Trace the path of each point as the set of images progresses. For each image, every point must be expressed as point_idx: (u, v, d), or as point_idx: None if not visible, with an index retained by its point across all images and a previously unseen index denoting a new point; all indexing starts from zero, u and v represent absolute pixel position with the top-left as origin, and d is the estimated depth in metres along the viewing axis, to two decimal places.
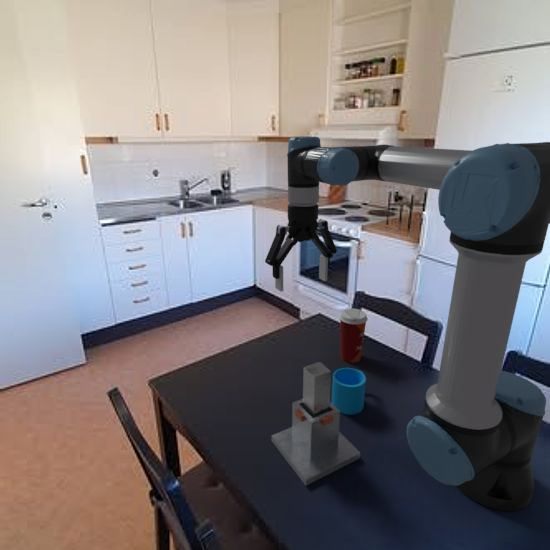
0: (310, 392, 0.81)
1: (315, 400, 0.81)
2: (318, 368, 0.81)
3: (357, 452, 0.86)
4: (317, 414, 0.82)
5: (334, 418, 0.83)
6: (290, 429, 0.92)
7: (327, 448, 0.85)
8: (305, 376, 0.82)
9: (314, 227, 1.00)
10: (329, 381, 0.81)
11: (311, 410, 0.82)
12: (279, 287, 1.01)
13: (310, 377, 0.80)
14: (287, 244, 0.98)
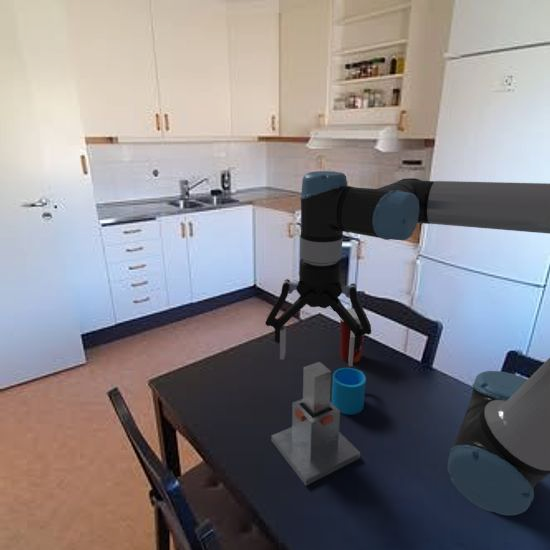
0: (310, 392, 0.81)
1: (315, 400, 0.81)
2: (318, 368, 0.81)
3: (357, 452, 0.86)
4: (317, 414, 0.82)
5: (334, 418, 0.83)
6: (290, 429, 0.92)
7: (327, 448, 0.85)
8: (305, 376, 0.82)
9: (333, 293, 0.74)
10: (329, 381, 0.81)
11: (311, 410, 0.82)
12: None
13: (310, 377, 0.80)
14: (293, 305, 0.77)
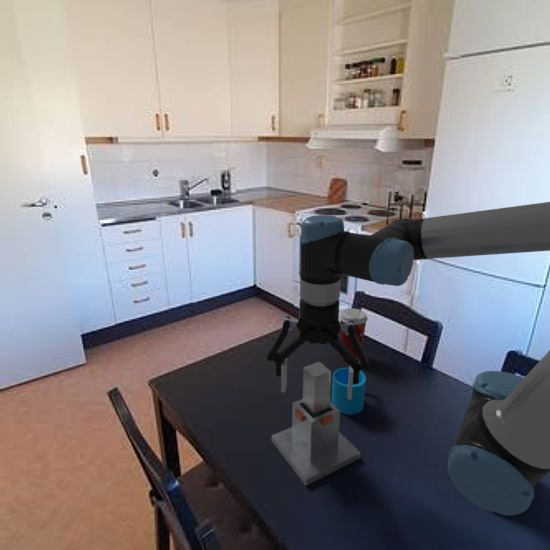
0: (310, 392, 0.81)
1: (315, 400, 0.81)
2: (318, 368, 0.81)
3: (357, 452, 0.86)
4: (317, 414, 0.82)
5: (334, 418, 0.83)
6: (290, 429, 0.92)
7: (327, 448, 0.85)
8: (305, 376, 0.82)
9: (332, 330, 0.76)
10: (329, 381, 0.81)
11: (311, 410, 0.82)
12: None
13: (310, 377, 0.80)
14: (294, 341, 0.79)
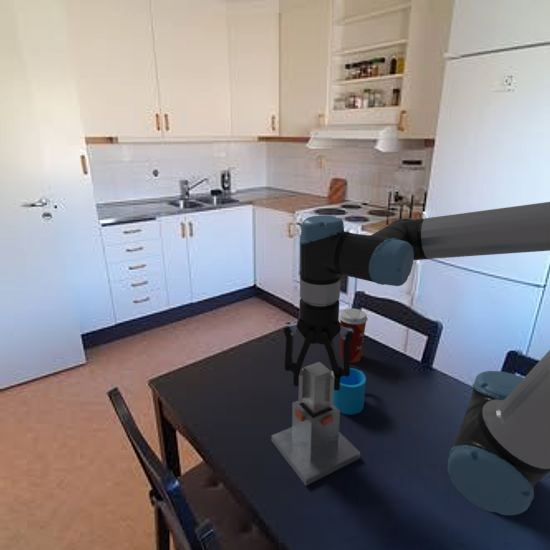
0: (310, 392, 0.81)
1: (315, 400, 0.81)
2: (318, 368, 0.81)
3: (357, 452, 0.86)
4: (317, 414, 0.82)
5: (334, 418, 0.83)
6: (290, 429, 0.92)
7: (327, 448, 0.85)
8: (305, 376, 0.82)
9: (332, 330, 0.76)
10: (329, 381, 0.81)
11: (311, 410, 0.82)
12: None
13: (310, 377, 0.80)
14: (301, 347, 0.79)
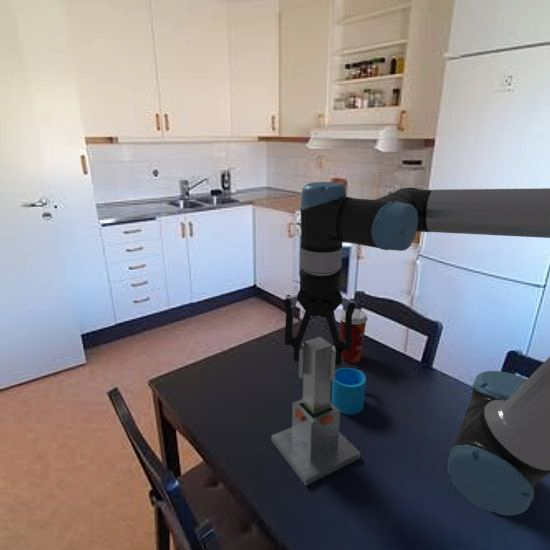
0: (311, 366, 0.79)
1: (316, 375, 0.79)
2: (319, 342, 0.79)
3: (357, 452, 0.86)
4: (318, 390, 0.80)
5: (334, 418, 0.83)
6: (290, 429, 0.92)
7: (327, 448, 0.85)
8: (306, 351, 0.80)
9: (333, 301, 0.74)
10: (330, 355, 0.79)
11: (311, 386, 0.80)
12: (299, 372, 0.81)
13: (311, 351, 0.78)
14: (302, 320, 0.77)
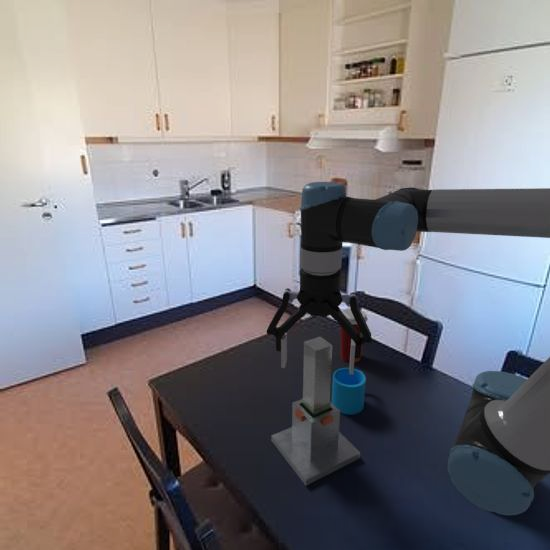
0: (311, 366, 0.79)
1: (316, 375, 0.79)
2: (319, 342, 0.79)
3: (357, 452, 0.86)
4: (318, 390, 0.80)
5: (334, 418, 0.83)
6: (290, 429, 0.92)
7: (327, 448, 0.85)
8: (306, 351, 0.80)
9: (334, 302, 0.74)
10: (330, 355, 0.79)
11: (311, 386, 0.80)
12: None
13: (311, 351, 0.78)
14: (294, 314, 0.77)
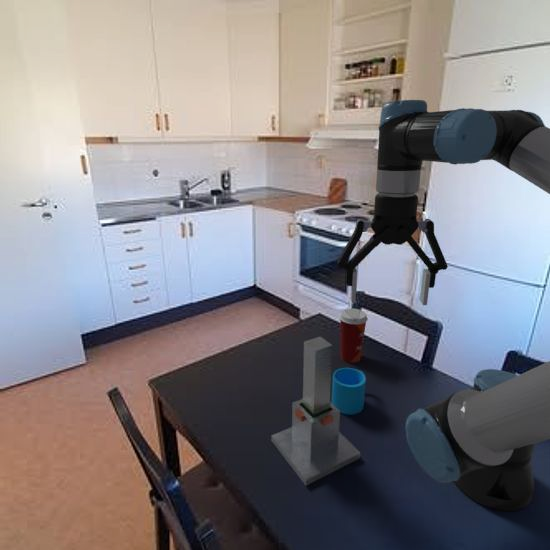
0: (311, 366, 0.79)
1: (316, 375, 0.79)
2: (319, 342, 0.79)
3: (357, 452, 0.86)
4: (318, 390, 0.80)
5: (334, 418, 0.83)
6: (290, 429, 0.92)
7: (327, 448, 0.85)
8: (306, 351, 0.80)
9: (410, 228, 0.73)
10: (330, 355, 0.79)
11: (311, 386, 0.80)
12: (351, 297, 0.79)
13: (311, 351, 0.78)
14: (367, 244, 0.76)
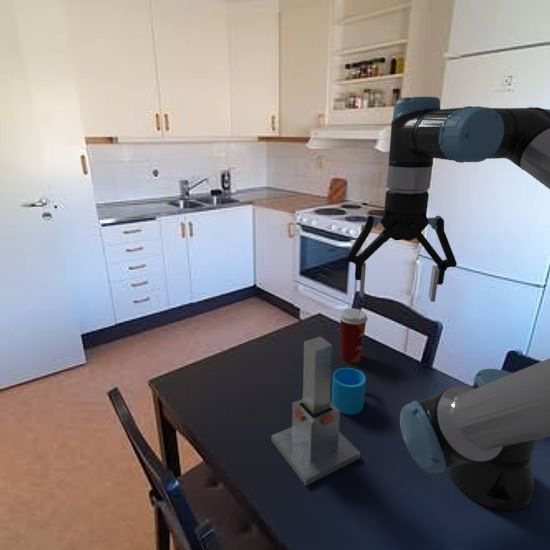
0: (311, 366, 0.79)
1: (316, 375, 0.79)
2: (319, 342, 0.79)
3: (357, 452, 0.86)
4: (318, 390, 0.80)
5: (334, 418, 0.83)
6: (290, 429, 0.92)
7: (327, 448, 0.85)
8: (306, 351, 0.80)
9: (420, 224, 0.73)
10: (330, 355, 0.79)
11: (311, 386, 0.80)
12: None
13: (311, 351, 0.78)
14: (376, 240, 0.76)
